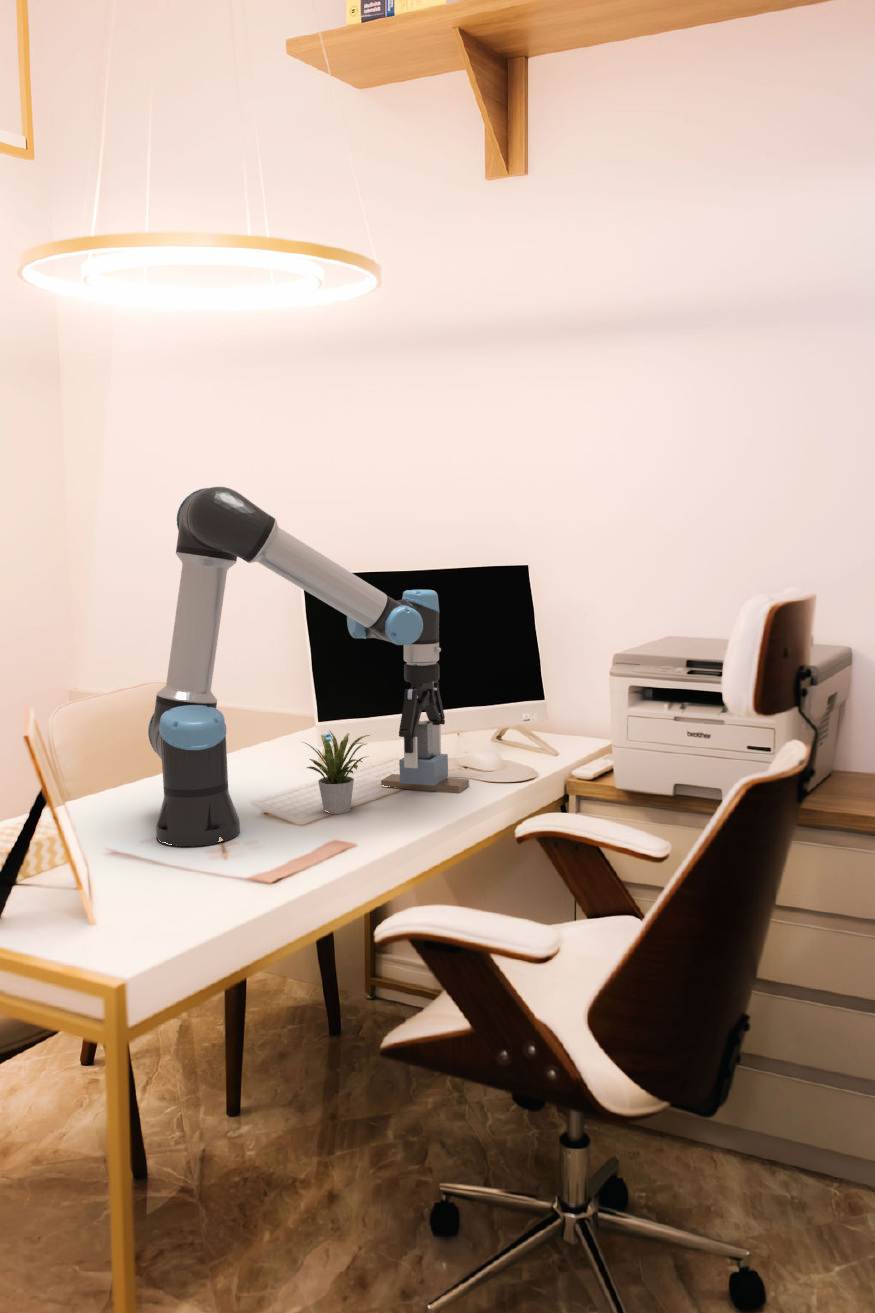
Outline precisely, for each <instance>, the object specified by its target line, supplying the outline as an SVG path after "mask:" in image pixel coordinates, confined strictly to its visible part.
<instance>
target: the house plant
mask: <svg viewBox="0 0 875 1313" xmlns="http://www.w3.org/2000/svg"><path fill="white" fill-rule="evenodd" d="M328 731H329V732H327V733H329V735H330V738H331V742H332V745H331V743H330V742H329V741H328V739H327V738H326V737H325V735H322V734H321V735H320V738H321V741H322V744H323V748H324V754H325V756H324V755H323V753H322V752H321V751H320V750H319V748H316V749H315V748H314V747H313V746H312V745H310V744H309V743H307V742H304V741H302V743H303V744H305V745H307V746H309V747H310V748H311V749H313V751H315V753H316V754H317V756H318V757H319V758H320V759H321V761H322V762H323V763H324V765H325V766H326V767H325V766H324V765H323V764H322V763H321V762H319V761H317V760H315V759H312V758H309V760H310V761H311V762H312V763H313V764H314V765H315V766H316V767H315V766H307V767H306V768H305V769H310V770H313V771H315V772H318V773H319V774H320V775H321V776H322V778H320V779H318V781H317V782H318V788H319V793H320V797H321V802H322V806H323V811H324V810H326V811H328V812H329V813H330V815H341V814H346V813H349V812H350V811H351V807H352V806H351V804H352V797H353V790H354V781H355V779H354V777H352V776H348V775H349V774H354V771H353V769H355V770H356V771H357V769H358V767H359V765H358V763H359V762H361V763H362V764H364V763H363V761H362V759H364V758H368V757H370V755H367V756H362V757H360V758H359V759H353V757H354V755H355V753H356V752H357V751H358V750H359V749H361V748H362V747H364V746H366V745H367V743H364V742H359V741H360V740H362V739H363V738H365V737H366V738H367V737H370V736H371V734H367V735H366V734H365V735H363V736H360V737H358V738H356V740H354V741H353V742H352V743H351V744H350V746H349V747H348V750H347V751H346V749H347V746H348V742H349V736H350V732H347V733H346V734H345V736H343V740H341V741H340V743H339V745H338V740H337V738H336V736H335V735H334V733H333V732H332V731H331V729H329V730H328ZM358 744H359V745H358ZM355 745H358V747H356V748H355V749H354V750H353V752H352V749H353V748H354V746H355ZM333 750H334V751H333ZM350 752H352V754H351V755H350V757H349V759H348V760H347V758H348V756H349V754H350ZM346 760H347V762H345V761H346ZM352 762H354V763H353V765H351V766H350V764H351V763H352ZM344 763H345V764H344ZM317 767H319V768H317ZM325 775H326V776H325Z"/></svg>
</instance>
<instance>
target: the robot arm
mask: <svg viewBox="0 0 875 1313" xmlns="http://www.w3.org/2000/svg"><path fill="white" fill-rule="evenodd" d="M176 526H177V531H178V534H177V541H176V549H175V550H176V551H175V555H176V556H177V557H178V559H179V560H180V561H181V565H182V566H181V571H180V572H181V573H180V580H179V587H178V596H177V602H176V610H175V616H174V623H173V624H174V625H173V633H172V637H171V646H170V653H169V660H168V662H169V663H168V667H167V668H168V669H167V676H166V684H165V686H163V687H162V688H161V689H160V690H158V691H157V693H156V698H155V703H154V704H155V705H154V711H153V713H152V716H150V720H149V723H148V728H147V729H148V730H147V735H148V741H149V744H150V745H151V748H152V749H153V751H154V752H155V753H156V754H157V756H158V757H159V758H160V759H161V766H162V783H163V800H162V804H161V808H160V811H159V815H158V819H157V823H156V828H155V831H156V832H155V833H156V839H157V838H158V839H159V840H160V841H161V842H166V843H168V844H172V845H177V846H176V847H181V846H191V847H200V846H201V847H202V845H204V846H210V845H215V844H219V843H218V841H219V837H221V838H222V839H223V840H224V842H226V841H229V840H233V838H236V837H237V836H238V835H239V834H241V825H240V824H241V822H240V818H239V815H238V812H237V809H236V808H235V805H234V803H233V799H232V797H231V794H230V791H229V777H228V775H229V774H228V755H227V754H228V752H227V736H226V735H227V725H226V722H225V716H224V713H222V712H221V710H219V709H218V708H217V706H218V698H216V696H215V695H214V694H213V692H212V685H213V676H214V669H215V662H216V654H217V649H218V648H217V646H218V641H219V633H220V627H221V618H222V611H223V605H224V604H223V603H224V598H225V589H226V583H227V575H228V570H229V569H230V568H232V567H233V566H234V565H236V564H237V560H238V558H239V559H241V560H243V561H244V562H246V563H248V564H252V563H259V564H260V565H262V566H264V567H265V568H267V569H269V570H270V571H272V572H273V573H275V574H276V575H278V576H279V577H282V578H283V579H285V580H287V581H288V582H290V583H292V584H294V585H295V586H297V587H298V588H300V589H301V590H303V591H305V592H307V593H308V594H310V595H312V596H314V597H316V598H317V600H320V601H322V602H323V603H325V604H327V605H328V606H330V607H332V608H333V609H335V610H337V611H339V612H340V613H342V614H344V615H345V616H346V623H347V624H346V625H347V629H348V633H349V635H350V636H351V637H352V638H353V639H364V640H367V639H372V638H373V639H378V640H382V641H386V642H389V643H392V644H394V645H396V646H403V661H404V662H406V663H404V665H403V670H404V671H403V672H404V673H403V678H404V681H405V682H407V683H410V684H411V687H410V688H409V689H407V688H405V689H404V698H403V704H402V706H403V707H402V712H401V716H400V718H401V719H400V725H399V730H398V736H399V737H400V738H403V758H404V767H405V768H418V759H417V737H415V734H416V731H417V727H418V723H419V721H420V720H421V715H422V712H423V711H424V712H425V714H426V716H427V719H428V721H430V722H432V725H433V753H436V754H442V740H441V739H442V738H441V737H442V733H441V732H442V730H441V729H442V728H441V725H445V723H446V720H445V712H444V708H443V703H442V698H441V694H440V686H439V685H440V682H439V680H440V677H441V676H440V664H439V662H438V661H439V660H440V652H441V651H442V648H441V647H440V636H439V635H440V630H439V629H440V625H439V624H440V605H439V604H440V603H439V595H438V593H437V592H436V591H435V590H432V589H411V590H410V589H409V590H408V589H407V590H405V591H403V592H402V598H401V599H399V600H395V599H394V598H392V597H390V596H388V595H387V594H386V593H385V592H383V591H382V590H380V589H378V588H377V587H375V586H373V585H372V584H370V583H368V582H367V581H365V580H363V579H362V578H361V577H359V576H357V575H356V574H355V573H353V572H351V571H349V570H347V569H346V568H344V567H343V566H342V565H340V564H338V563H336V562H335V561H333V560H331V559H330V558H329V557H327V556H325V555H324V554H322V553H321V552H319V551H318V550H315V549H314V548H313V547H311V546H310V545H308V544H306V543H304V541H301V540H300V539H298V538H296V537H295V536H294V535H291V534H290V532H289V533H288V531H285V530H284V529H282V528H281V527H279V525H278V520H277V519H276V518H275V517H273V516H272V515H270V514H269V513H267V512H266V511H264V510H263V509H262V508H260V507H259V506H257V505H256V504H254V503H253V502H252V501H250V500H249V499H248V498H246V497H245V496H243V495H242V494H241V493H240V492H238V491H236V490H234V489H232V488H229V487H226V486H212V487H205V488H199V489H197V490H193V492H191V493H190V494H189V495H187V496H186V497H185V498H184V499H183V501H182V503H180V506H179V508H178V511H177V513H176Z"/></svg>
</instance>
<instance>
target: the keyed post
mask: <svg viewBox="0 0 875 1313" xmlns="http://www.w3.org/2000/svg"><path fill="white" fill-rule="evenodd" d="M415 737H417V759H421V760H430V759H432V758H433V725H432V722H430V721H429V720H424V721H421V720H419V723H418V727H417V731H416V734H415ZM381 785H384V786H390V787H396V788H395V789H400V790H411V791H412V790H413V791H414V790H415V791H425V792H427V791H428V792H439V793H440V792H441V793H456V794H460V793H462V792H463V791H465V790H466V789H467V788H469V786H470V779H467V778H453V777H447V778H446V779H444V780H443V781H441V782H440V783H438V784H437V785H435V786H433V785H419V784H406V783H400V773H399V774H397V773H390V774H389V775H388V776H386V777H385V778H382V779H381V780H380V786H381Z"/></svg>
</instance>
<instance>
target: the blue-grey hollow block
mask: <svg viewBox="0 0 875 1313" xmlns="http://www.w3.org/2000/svg"><path fill="white" fill-rule="evenodd" d="M398 764H399V774H400V783H406V784H419V785H433V786H435V785H437V784H438V783H440V782H441V781H443V780H444V779H446V778H449V755H448V753H441V754H436V753H433V758H432V759H430V760H421V759H418V768H405V767H404V757H403V758H401V759H399V763H398Z"/></svg>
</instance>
